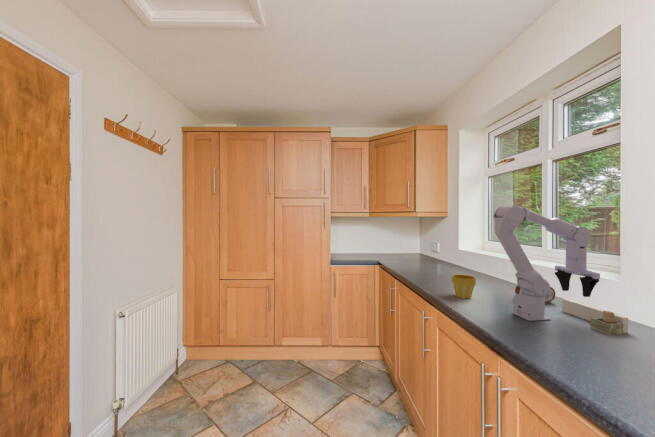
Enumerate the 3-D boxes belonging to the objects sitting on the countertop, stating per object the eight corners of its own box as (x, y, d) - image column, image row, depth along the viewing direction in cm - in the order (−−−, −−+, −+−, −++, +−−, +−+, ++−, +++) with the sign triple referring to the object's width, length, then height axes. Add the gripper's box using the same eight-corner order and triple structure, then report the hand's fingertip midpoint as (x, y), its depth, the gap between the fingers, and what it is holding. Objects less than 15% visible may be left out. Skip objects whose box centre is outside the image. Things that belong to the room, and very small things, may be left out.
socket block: (608, 335, 85) (608, 324, 85) (590, 328, 90) (590, 318, 90) (623, 334, 85) (623, 323, 85) (603, 327, 91) (604, 317, 91)
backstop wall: (622, 333, 86) (622, 318, 86) (562, 311, 106) (562, 298, 106) (627, 332, 86) (628, 317, 86) (566, 310, 106) (566, 298, 106)
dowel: (609, 331, 86) (609, 313, 86) (600, 328, 89) (600, 310, 89) (616, 331, 86) (616, 313, 86) (607, 328, 89) (607, 310, 89)
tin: (552, 301, 118) (552, 283, 117) (556, 304, 114) (556, 285, 114) (514, 299, 121) (514, 281, 121) (517, 301, 118) (518, 283, 118)
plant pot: (474, 295, 127) (474, 275, 127) (477, 301, 118) (477, 279, 118) (451, 292, 132) (451, 273, 131) (452, 298, 122) (452, 277, 122)
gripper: (607, 260, 92) (607, 299, 92) (565, 254, 106) (565, 287, 106) (590, 261, 91) (589, 299, 91) (550, 255, 105) (550, 288, 105)
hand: (575, 293), depth 98 cm, fingers open, 7 cm apart
